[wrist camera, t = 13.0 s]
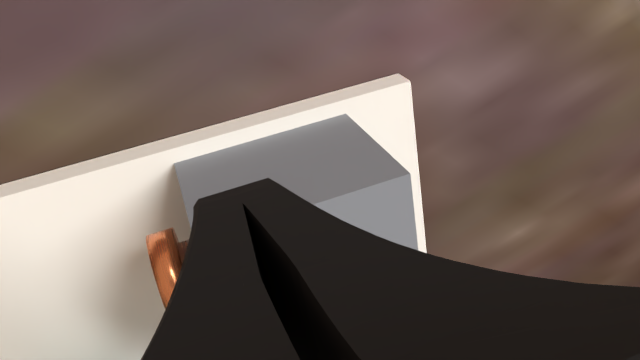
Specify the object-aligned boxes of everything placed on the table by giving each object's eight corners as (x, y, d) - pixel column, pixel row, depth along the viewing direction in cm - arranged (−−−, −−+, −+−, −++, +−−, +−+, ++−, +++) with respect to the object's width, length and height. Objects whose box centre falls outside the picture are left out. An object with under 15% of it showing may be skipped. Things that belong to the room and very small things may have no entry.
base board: (398, 73, 21) (410, 81, 21) (425, 335, 28) (435, 349, 27) (-182, 236, 18) (-196, 253, 17) (2, 497, 24) (-1, 519, 23)
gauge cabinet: (345, 113, 20) (410, 173, 16) (364, 232, 23) (424, 311, 18) (173, 163, 19) (194, 242, 15) (212, 283, 22) (239, 380, 17)
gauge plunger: (328, 162, 20) (359, 200, 17) (340, 231, 21) (370, 274, 19) (143, 219, 19) (149, 268, 16) (168, 288, 20) (178, 342, 18)
